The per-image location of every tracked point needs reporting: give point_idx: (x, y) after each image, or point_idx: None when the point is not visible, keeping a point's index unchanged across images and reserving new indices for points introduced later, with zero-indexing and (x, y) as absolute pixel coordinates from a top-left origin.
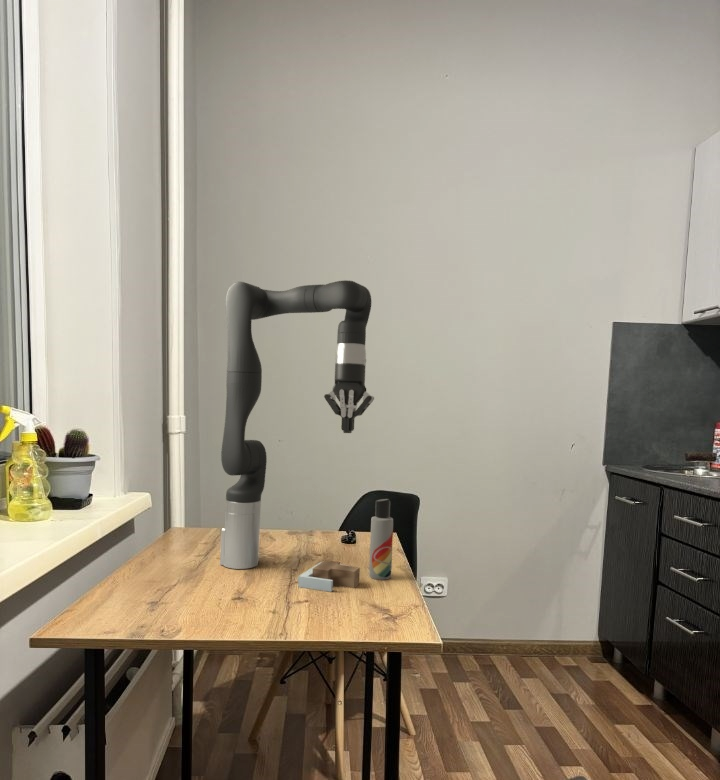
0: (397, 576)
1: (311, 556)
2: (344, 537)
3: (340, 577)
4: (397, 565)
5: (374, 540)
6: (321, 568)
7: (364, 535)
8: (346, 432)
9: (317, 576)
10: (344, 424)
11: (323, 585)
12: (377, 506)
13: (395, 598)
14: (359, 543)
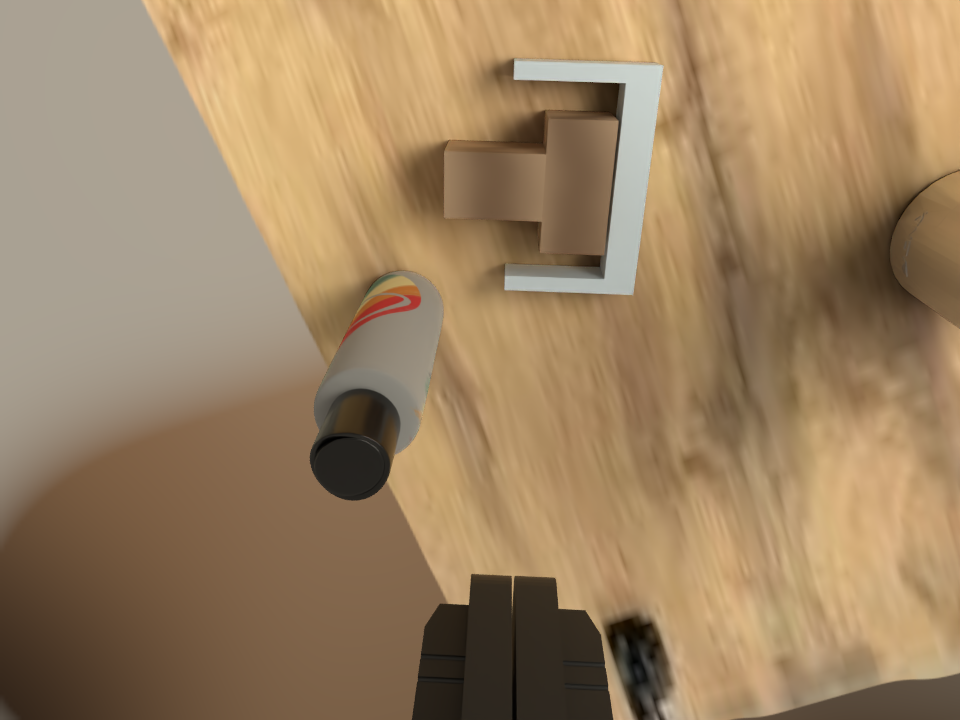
0: None
1: (712, 436)
2: (660, 674)
3: (503, 147)
4: None
5: (400, 329)
6: (583, 136)
7: None
8: (509, 577)
9: (592, 116)
10: (546, 664)
11: (547, 60)
12: (372, 421)
13: (272, 91)
14: None
